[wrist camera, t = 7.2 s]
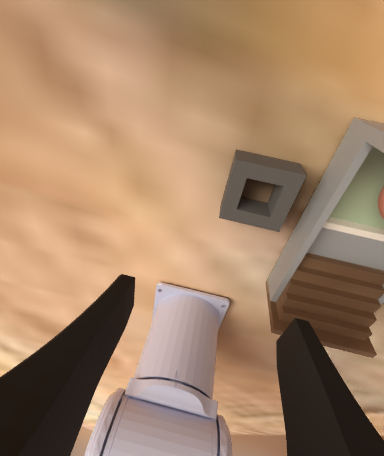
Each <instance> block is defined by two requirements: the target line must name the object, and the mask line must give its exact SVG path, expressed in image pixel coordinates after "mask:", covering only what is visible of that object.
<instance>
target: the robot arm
mask: <svg viewBox="0 0 384 456" xmlns="http://www.w3.org/2000/svg"><path fill="white" fill-rule="evenodd" d="M134 292H135V277H131V276H127V275H123V274H121V275H119V277H118V278H117V279H116V280H115V281H114V282H113V283H112V284H111V285H110V287H109V288H108V289H107V290H106V291H105V292H104V293H103V294H102V295H101V296H100V297H99V298H98V299H97V300H96V301H95V302H94V303H93V304H92V305H91V306H89V307H88V308H87V309H86V310H85V311H84V312H83V313H82V314H81V315H80V316H79V317H78V318H76V319H75V320H74V321H73V322H72V323H71V324H70V325H68V326H67V327H66V328H65V329H64V330H63V331H62V332H60V333H59V334H58V335H57V336H55V337H54V338H53V339H52V340H50V341H49V342H48V343H47V344H45V345H44V346H43V347H41V348H40V349H39V350H38V351H36V352H35V353H34V354H32V355H31V356H30V357H28V358H27V359H25V360H24V361H23V362H21V363H20V364H18V365H17V366H16V367H14V368H13V369H11V370H10V371H9V372H7V373H6V374H4V375H3V376H1V377H0V456H70V455H71V452H72V449H73V447H74V444H75V441H76V439H77V436H78V433H79V431H80V428H81V426H82V423H83V420H84V418H85V415H86V413H87V410H88V408H89V405H90V402H91V400H92V397H93V395H94V392H95V390H96V387H97V385H98V383H99V381H100V379H101V376H102V374H103V372H104V370H105V368H106V366H107V364H108V362H109V360H110V358H111V356H112V354H113V352H114V350H115V348H116V346H117V344H118V342H119V340H120V338H121V336H122V334H123V332H124V329H125V327H126V325H127V322H128V320H129V317H130V314H131V311H132V309H133V306H134ZM229 304H230V300H229V299H227V298H224V297H220V296H216V295H212V294H208V293H204V292H200V291H195V290H191V289H187V288H183V287H179V286H175V285H171V284H167V283H163V282H159V283H157V286H156V293H155V301H154V310H153V318H152V324H151V327H150V330H149V333H148V336H147V339H146V342H145V345H144V348H143V351H142V354H141V357H140V360H139V363H138V366H137V369H136V372H135V375H134V378H130V380H129V383H128V386H127V389H126V390H125V389H122V388H119V389H117V390H116V392H114V393H113V394H111V395H110V396H109V397H108V399H107V400H106V402H105V404H104V406H103V408H102V410H101V413H100V415H99V417H98V420H97V422H96V424H95V427H94V430H93V432H92V435H91V438H90V441H89V443H88V446H87V449H86V452H85V456H232V441H231V435H230V431H229V428H228V426H227V424H226V422H225V419H224V418H223V416H221V415H218V414H217V405H218V402H217V401H216V400H213V387H214V374H215V362H216V349H217V337H218V330H219V327H220V325H221V323H222V321H223V318H224V316H225V314H226V311H227V309H228V307H229ZM277 370H278V378H279V386H280V393H281V400H282V407H283V414H284V422H285V430H286V440H287V456H384V440H383V439H382V438H381V436H380V435H379V433H378V432H377V431H376V429H375V428H374V427H373V425H372V424H371V422H370V421H369V419H368V418H367V416H366V415H365V413H364V412H363V410H362V409H361V407H360V406H359V404H358V403H357V401H356V400H355V398H354V397H353V395H352V394H351V392H350V390H349V389H348V387H347V386H346V384H345V382H344V381H343V379H342V378H341V376H340V374H339V373H338V371H337V369H336V368H335V366H334V364H333V363H332V361H331V359H330V357H329V356H328V354H327V352H326V351H325V349H324V347H323V345H322V344H321V342H320V340H319V338H318V337H317V335H316V333H315V331H314V330H313V328H312V326H311V324H310V323H309V321H306V320H302V319H298V318H294V319H293V321H292V322H291V323H290V325H289V326H288V327H287V329H286V330H285V331H284V332H283V334H282V335H281V336H280V338H279V339H278V340H277Z"/></svg>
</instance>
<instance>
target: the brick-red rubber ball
mask: <svg viewBox="0 0 384 456" xmlns="http://www.w3.org/2000/svg"><path fill="white" fill-rule="evenodd" d="M378 209H379V212H380V214H381V216H382V218H383V219H384V187H383V188H382V190H381V192H380V194H379V197H378Z"/></svg>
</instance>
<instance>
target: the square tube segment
mask: <svg viewBox="0 0 384 456" xmlns="http://www.w3.org/2000/svg"><path fill="white" fill-rule="evenodd" d="M306 176H307V175H306V173H305V172H304V170H303V168H302V167H301V165H300V164H298V163H294V162H289V161H285V160H280V159H276V158H271V157H267V156H262V155H258V154H253V153H249V152H245V151H240V150H236V152H235V156H234V159H233V163H232V167H231V170H230V174H229V177H228V181H227V184H226V188H225V191H224V195H223V199H222V202H221V207H220V215H219V218H222V219H226V220H230V221H235V222H239V223H243V224H248V225H252V226H256V227H261V228H265V229H269V230H273V231H278V232H279V231H280V229H281V227H282V225H283V223H284V221H285V219H286V216H287V214H288V212H289V210H290V208H291V206H292V204H293V202H294V200H295V198H296V196H297V194H298V192H299V190H300V188H301V186H302V184H303V182H304V180H305V178H306ZM247 178H249V179H253V180H258V181H262V182H266V183H271V184H275V187H274V189H273V191H272V194H271V196H270V199H269V201H268V203H264V202H260V201H256V200H251V199H247V198H242V197H241V194H242V191H243V188H244V185H245V182H246V179H247Z"/></svg>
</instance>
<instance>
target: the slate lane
mask: <svg viewBox="0 0 384 456" xmlns="http://www.w3.org/2000/svg"><path fill="white" fill-rule="evenodd" d="M383 187H384V124H382V123H377V122H373V121H368V120H363V119H359V118H354V119H353V121H352V123H351V125H350V127H349V128H348V130H347V132H346V134H345V136H344V138H343V140H342V141H341V143H340V145H339V147H338V149H337V151H336V153H335V154H334V156H333V158H332V160H331V162H330V164H329V166H328V168H327V169H326V171H325V173H324V175H323V177H322V179H321V181H320V182H319V184H318V186H317V188H316V190H315V192H314V194H313V196H312V197H311V199H310V201H309V203H308V205H307V207H306V209H305V210H304V212H303V214H302V216H301V218H300V220H299V222H298V223H297V225H296V227H295V229H294V231H293V233H292V235H291V237H290V238H289V240H288V242H287V244H286V246H285V248H284V250H283V251H282V253H281V255H280V257H279V259H278V261H277V263H276V264H275V266H274V268H273V270H272V272H271V274H270V276H269V278H268V287H269V295H270V301H273V302H276V301H277V300H278V298H279V296H280V295H281V293H282V292H283V290H284V288H285V287H286V285H287V284H288V282H289V280H290V279H291V277H292V276H293V274H294V272H295V271H296V269H297V267H298V266H299V264H300V263H301V261H302V259H303V258H304V256H305V255H306V253H311V254H315V255H319V256H324V257H328V258H332V259H336V260H341V261H345V262H349V263H354V264H358V265H362V266H366V267H371V268H375V269H379V270H383V271H384V219H383V218H382V216H381V214H380V212H379V209H378V197H379V194H380V192H381V190H382V188H383ZM382 286H383V288H384V284H383V285H382ZM378 301H379V303H380V304H381V305H382V304H383V303H384V294H383V295H382V296H381V297H380V298H379V299H378Z"/></svg>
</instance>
